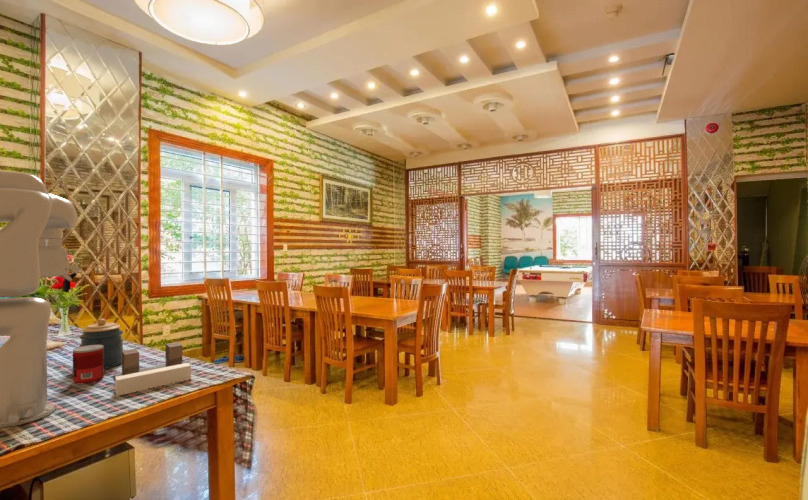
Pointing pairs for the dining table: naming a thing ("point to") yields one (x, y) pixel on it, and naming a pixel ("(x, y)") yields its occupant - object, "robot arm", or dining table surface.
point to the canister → (105, 340)
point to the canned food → (88, 364)
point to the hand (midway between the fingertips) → (47, 293)
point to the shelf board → (151, 378)
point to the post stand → (172, 358)
